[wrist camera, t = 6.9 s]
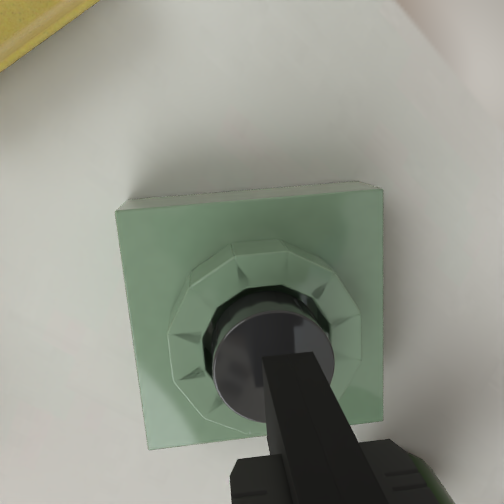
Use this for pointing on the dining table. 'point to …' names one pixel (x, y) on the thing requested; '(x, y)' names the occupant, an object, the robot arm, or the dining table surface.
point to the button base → (246, 282)
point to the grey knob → (262, 346)
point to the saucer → (33, 24)
